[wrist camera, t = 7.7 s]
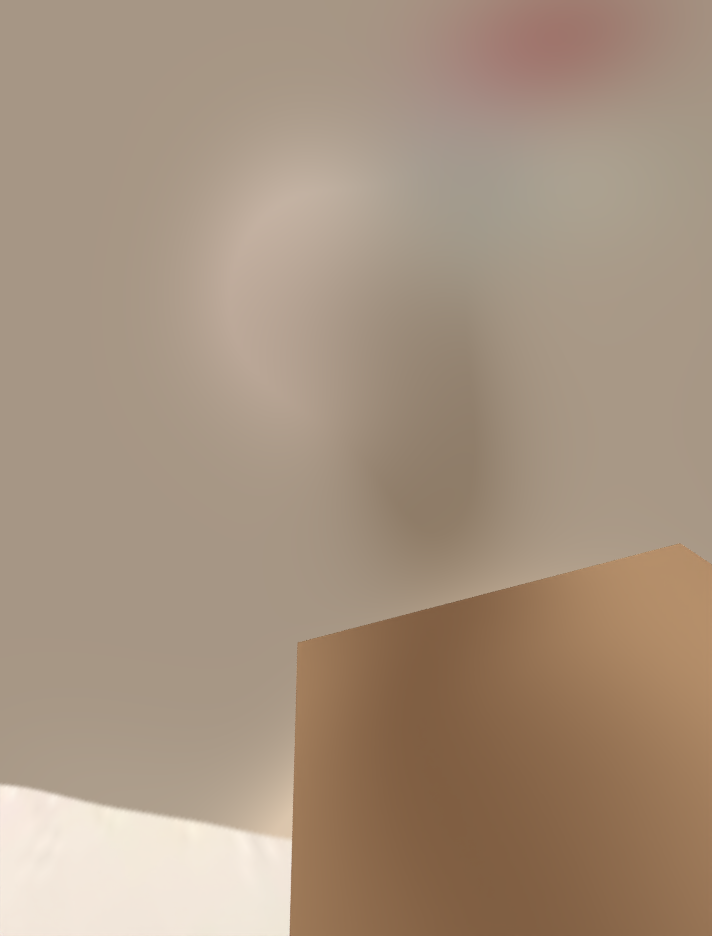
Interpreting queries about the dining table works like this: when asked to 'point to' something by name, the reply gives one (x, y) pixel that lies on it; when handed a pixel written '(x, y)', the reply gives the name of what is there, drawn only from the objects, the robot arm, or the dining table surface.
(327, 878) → the block
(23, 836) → the dining table surface
